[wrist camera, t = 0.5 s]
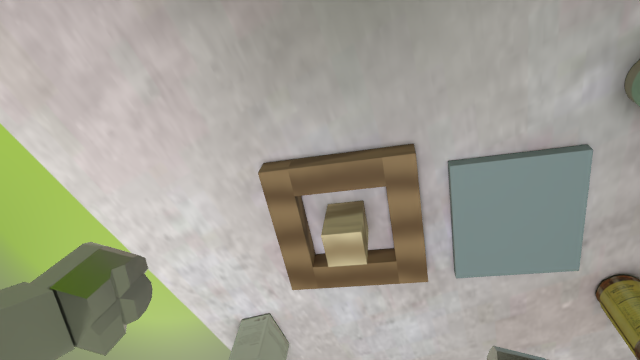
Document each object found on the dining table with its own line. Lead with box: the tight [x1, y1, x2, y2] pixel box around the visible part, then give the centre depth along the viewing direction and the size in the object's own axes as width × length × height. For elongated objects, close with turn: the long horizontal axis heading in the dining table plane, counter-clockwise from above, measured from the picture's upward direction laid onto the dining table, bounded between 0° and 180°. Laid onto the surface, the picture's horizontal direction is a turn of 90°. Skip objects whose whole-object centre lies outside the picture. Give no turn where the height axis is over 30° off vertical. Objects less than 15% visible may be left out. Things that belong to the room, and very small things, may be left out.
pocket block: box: [258, 144, 428, 290], centre depth 55 cm, size 20×20×3 cm
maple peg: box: [321, 201, 368, 267], centre depth 53 cm, size 5×5×8 cm
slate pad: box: [448, 145, 593, 278], centre depth 52 cm, size 18×16×2 cm
